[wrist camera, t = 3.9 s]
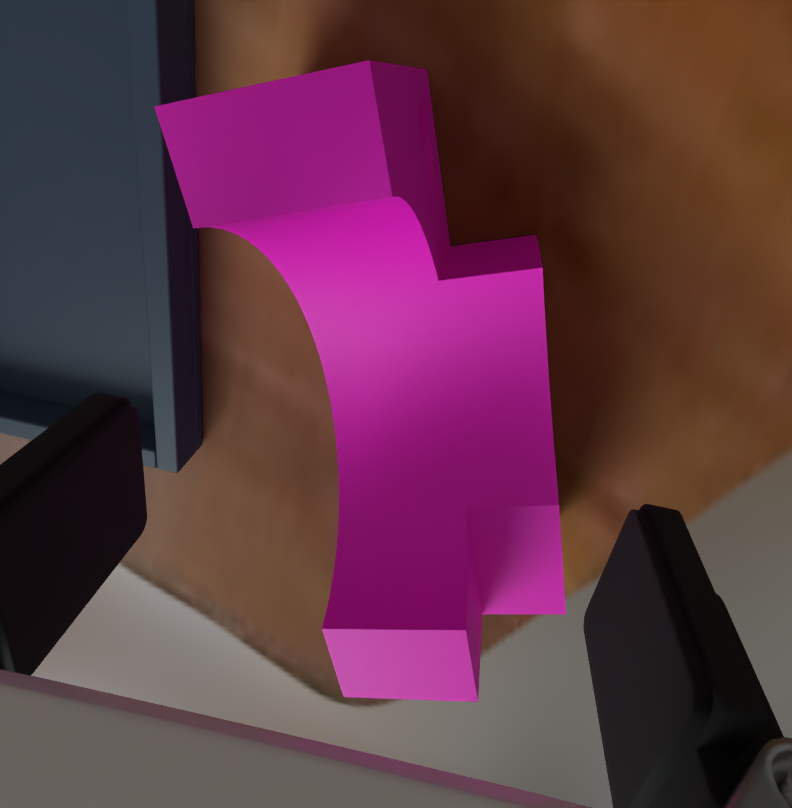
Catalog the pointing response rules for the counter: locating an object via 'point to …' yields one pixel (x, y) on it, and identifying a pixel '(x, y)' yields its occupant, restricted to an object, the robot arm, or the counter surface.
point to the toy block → (396, 363)
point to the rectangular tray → (97, 220)
